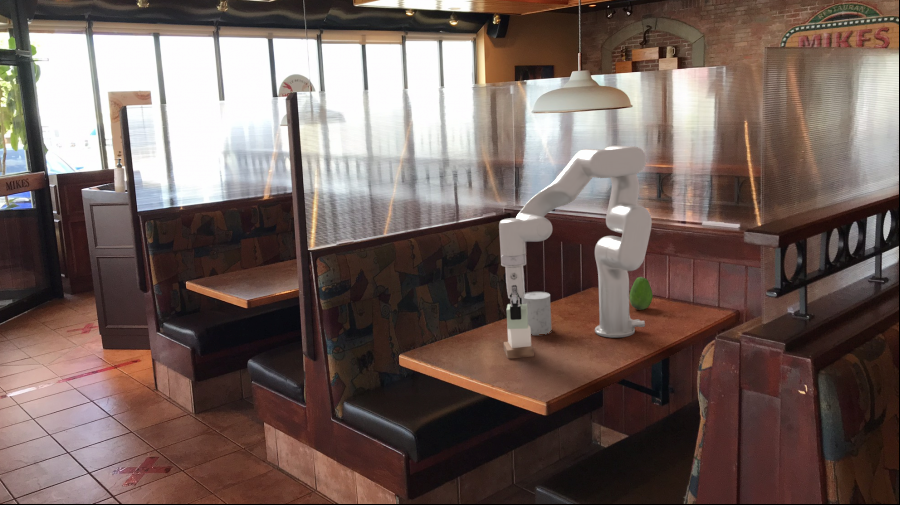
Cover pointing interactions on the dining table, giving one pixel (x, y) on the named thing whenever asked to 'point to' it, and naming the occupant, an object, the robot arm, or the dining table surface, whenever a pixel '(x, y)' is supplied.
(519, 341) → the tower cube
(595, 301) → the dining table surface
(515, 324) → the sage block
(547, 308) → the grey marble cylinder
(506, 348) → the walnut slab
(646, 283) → the avocado
